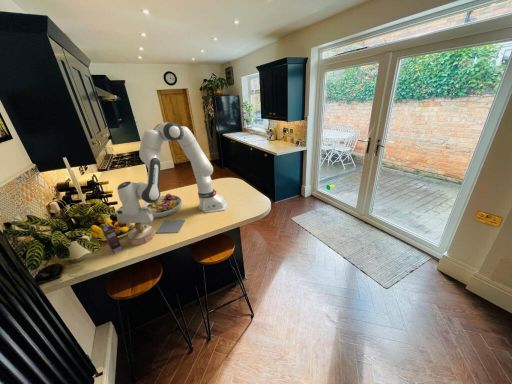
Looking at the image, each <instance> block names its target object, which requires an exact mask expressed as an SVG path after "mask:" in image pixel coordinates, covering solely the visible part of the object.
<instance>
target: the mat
mask: <svg viewBox="0 0 512 384" xmlns="http://www.w3.org/2000/svg"><path fill="white" fill-rule="evenodd" d="M185 222H186V219H164V221H162V223H161V225H160V226H159V227H158V228H157V230H156V231H155V234H178V233H179V232H180V231H181V229H182V227H183V226H184V224H185Z"/></svg>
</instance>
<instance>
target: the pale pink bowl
mask: <svg viewBox="0 0 512 384" xmlns="http://www.w3.org/2000/svg"><path fill="white" fill-rule="evenodd" d="M145 225H146V224H144V223H134V227H133V228H132V229H130V230H129V231H128V233H127V237H129V238H130V239H141V238H144V237H147V236H148V235H150V234H151V233H152V231H154V229H153V226H151V225H149V224H148V228H144V226H145Z"/></svg>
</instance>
